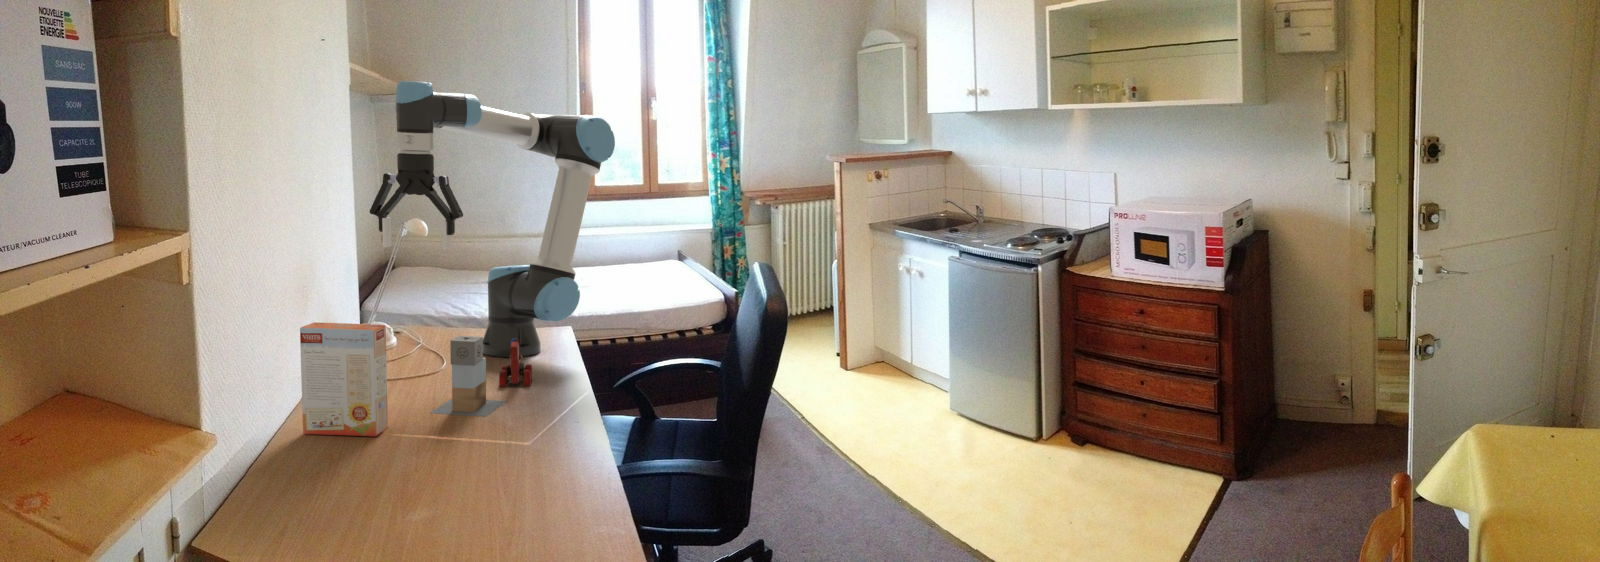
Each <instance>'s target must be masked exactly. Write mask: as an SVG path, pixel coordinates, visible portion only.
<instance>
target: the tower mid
mask: <svg viewBox="0 0 1600 562" xmlns="http://www.w3.org/2000/svg"><path fill="white" fill-rule="evenodd" d="M486 359H487V357H483V360H482V361H481V362H479V363H478V364H476V365H475V366H473V365H451V388H452V387H454V388H470V389H473V388H475V387H476V386H478V385H480V384H481V383H483V382H484V381H486V382H487V360H486Z"/></svg>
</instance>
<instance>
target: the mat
mask: <svg viewBox="0 0 1600 562" xmlns="http://www.w3.org/2000/svg"><path fill="white" fill-rule="evenodd" d="M506 403H508V400H496V399H495V400H494V399H493V400H492V399H486V404H484V405H483V406H481V407H480V408H478V409H477V410H475V411H474V412H464V411H452V398H451V399H449V400H448V401H446V402H445V403H443V404H441V405H440V406H438V407H436V408H434V409H433V410H432V411H430V412H429V414H435V415H436V414H437V415H452V416H465V417H466V416H470V417H483V418H486V417H488V416H489V415H491V414H492V413H493V412H495V411H496V410H498V409H499V408H500V407H502V406H503V405H505V404H506Z"/></svg>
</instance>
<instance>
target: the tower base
mask: <svg viewBox="0 0 1600 562" xmlns="http://www.w3.org/2000/svg"><path fill="white" fill-rule="evenodd" d="M451 399H452V411H464V412H474V411H475V410H477V409H478V408H480V407H481V406H483V405H484V404H486V400H487V380H486V381H484V382H483V383H481V384H480V385H478V386H476V387H475V388H473V389H470V388H454V387H452V386H451Z"/></svg>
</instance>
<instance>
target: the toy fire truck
mask: <svg viewBox="0 0 1600 562" xmlns="http://www.w3.org/2000/svg"><path fill="white" fill-rule="evenodd" d="M519 344H520V343H519V340H518V339H517V338H514V339H512V340H511V354H510V356H509V357H508V359H509V362H510V363H508V365H507V364H502V365H501V369H500V370H499V375H498V380H499V381H498V383H499V387H500V388H505V387H507V385H508V382H511V384H512V385H515V384H519V383H520V382H522V383H523V385H522V386H523V387H524V388H525V387H531V384H532V383H531V382H532V381H533V366H532V364H524V363H523V356H522V355H521V353H520V350H519Z"/></svg>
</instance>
